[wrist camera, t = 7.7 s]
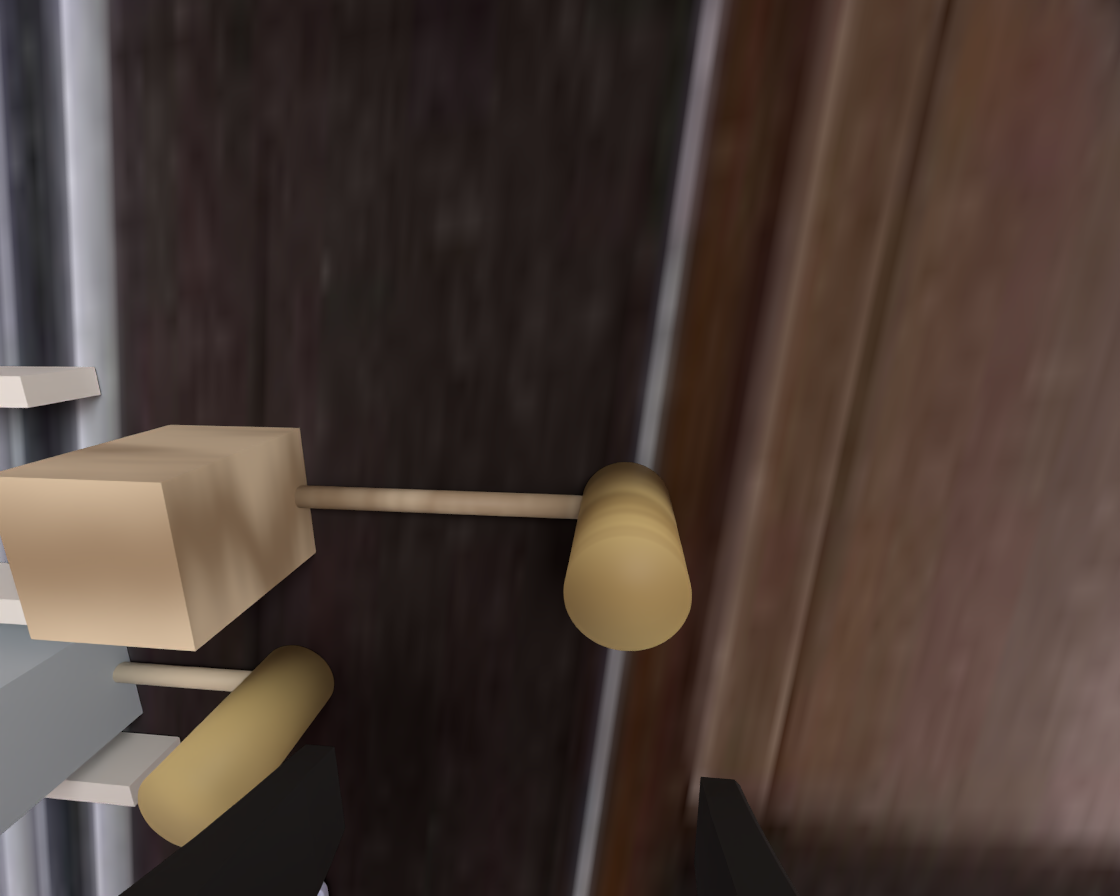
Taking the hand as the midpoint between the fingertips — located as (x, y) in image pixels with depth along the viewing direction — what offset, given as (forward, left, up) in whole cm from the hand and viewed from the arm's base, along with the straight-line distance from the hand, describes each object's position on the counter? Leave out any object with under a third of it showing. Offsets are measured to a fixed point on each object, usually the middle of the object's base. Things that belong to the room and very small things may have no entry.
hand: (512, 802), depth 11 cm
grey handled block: (-5, +16, -9) cm, 19 cm away
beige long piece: (+3, +5, -9) cm, 11 cm away
